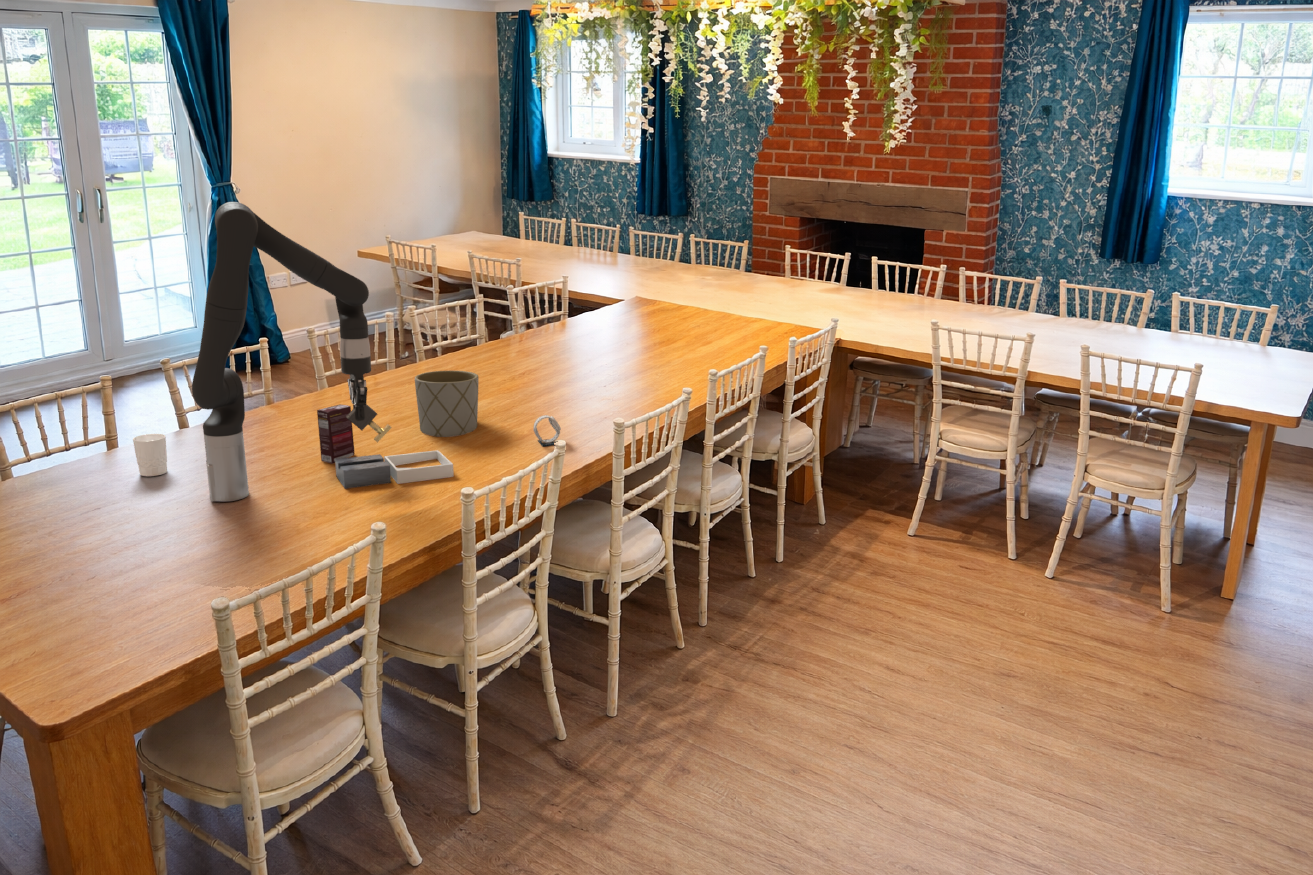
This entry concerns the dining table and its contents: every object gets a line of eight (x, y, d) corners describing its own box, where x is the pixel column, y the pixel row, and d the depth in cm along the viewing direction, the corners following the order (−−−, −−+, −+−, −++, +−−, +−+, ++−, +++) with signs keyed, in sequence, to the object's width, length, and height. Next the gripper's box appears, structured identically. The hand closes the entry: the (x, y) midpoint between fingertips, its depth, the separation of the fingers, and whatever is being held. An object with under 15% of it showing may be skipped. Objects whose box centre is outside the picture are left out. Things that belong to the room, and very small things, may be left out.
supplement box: (343, 457, 290) (339, 403, 286) (355, 459, 287) (352, 405, 283) (320, 464, 282) (315, 409, 278) (332, 466, 280) (328, 411, 276)
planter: (407, 445, 302) (404, 381, 297) (431, 430, 320) (428, 369, 315) (468, 449, 299) (465, 384, 294) (488, 433, 317) (486, 371, 312)
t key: (390, 425, 270) (361, 400, 265) (392, 427, 268) (363, 402, 263) (375, 441, 270) (345, 416, 264) (377, 443, 268) (347, 418, 262)
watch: (563, 453, 297) (562, 417, 294) (537, 455, 294) (536, 419, 291) (557, 448, 302) (557, 412, 299) (531, 450, 299) (531, 415, 296)
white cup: (174, 472, 273) (170, 437, 270) (144, 479, 267) (139, 442, 265) (162, 467, 278) (158, 432, 275) (132, 472, 272) (128, 437, 270)
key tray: (397, 483, 266) (396, 470, 265) (384, 468, 279) (384, 456, 278) (453, 476, 273) (453, 464, 272) (438, 462, 286) (438, 450, 285)
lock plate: (344, 488, 261) (343, 471, 260) (336, 476, 272) (335, 459, 270) (390, 482, 267) (389, 465, 265) (381, 470, 277) (379, 454, 276)
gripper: (375, 358, 256) (379, 423, 261) (364, 349, 268) (368, 412, 272) (345, 360, 253) (350, 426, 257) (335, 351, 265) (339, 414, 269)
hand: (359, 418), depth 265 cm, fingers closed on t key, 2 cm apart
